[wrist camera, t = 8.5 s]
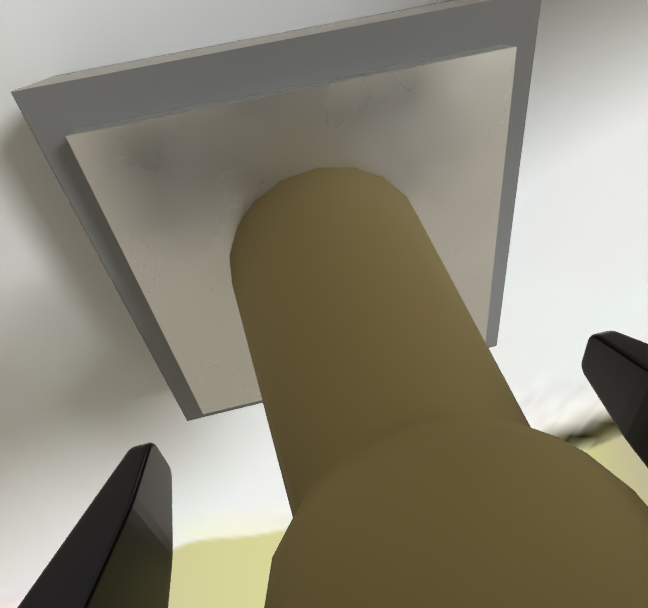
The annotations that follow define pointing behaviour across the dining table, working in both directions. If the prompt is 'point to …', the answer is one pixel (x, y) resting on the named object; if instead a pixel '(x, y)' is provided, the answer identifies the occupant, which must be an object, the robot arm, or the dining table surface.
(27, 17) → the dining table surface
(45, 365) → the dining table surface
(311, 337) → the cork
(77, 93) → the kitchen scale
